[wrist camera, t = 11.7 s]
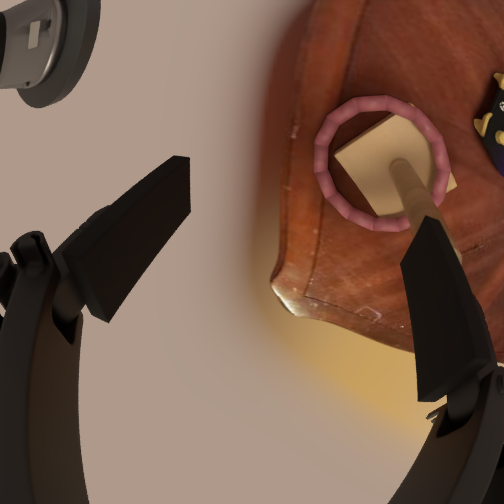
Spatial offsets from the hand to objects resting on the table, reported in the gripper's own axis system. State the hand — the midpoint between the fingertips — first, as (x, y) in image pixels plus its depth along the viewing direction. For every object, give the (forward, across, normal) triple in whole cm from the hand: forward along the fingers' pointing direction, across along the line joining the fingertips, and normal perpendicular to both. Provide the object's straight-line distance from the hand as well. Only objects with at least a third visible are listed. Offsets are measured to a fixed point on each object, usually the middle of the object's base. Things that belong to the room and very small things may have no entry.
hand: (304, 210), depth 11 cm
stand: (+13, +7, 0) cm, 14 cm away
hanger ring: (+11, +6, -1) cm, 12 cm away
